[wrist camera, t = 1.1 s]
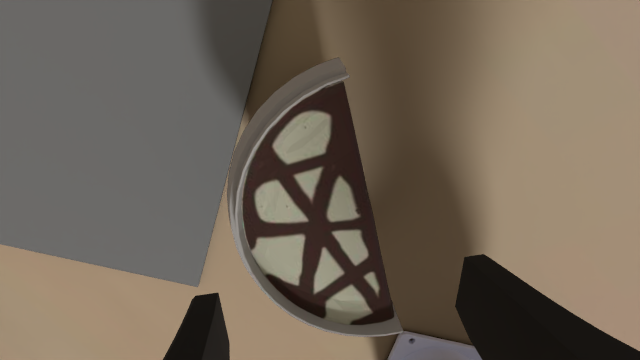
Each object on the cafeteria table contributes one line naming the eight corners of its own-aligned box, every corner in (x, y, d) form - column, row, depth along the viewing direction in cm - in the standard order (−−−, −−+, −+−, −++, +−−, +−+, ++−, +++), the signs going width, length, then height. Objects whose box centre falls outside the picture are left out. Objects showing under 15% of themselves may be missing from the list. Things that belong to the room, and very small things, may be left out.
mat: (279, -26, 21) (279, -28, 21) (198, 283, 27) (197, 287, 27) (-4, -130, 19) (-10, -133, 19) (-26, 234, 25) (-31, 237, 24)
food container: (218, 79, 23) (170, 104, 13) (321, 52, 23) (346, 59, 13) (276, 259, 27) (270, 376, 18) (364, 237, 27) (405, 342, 17)
